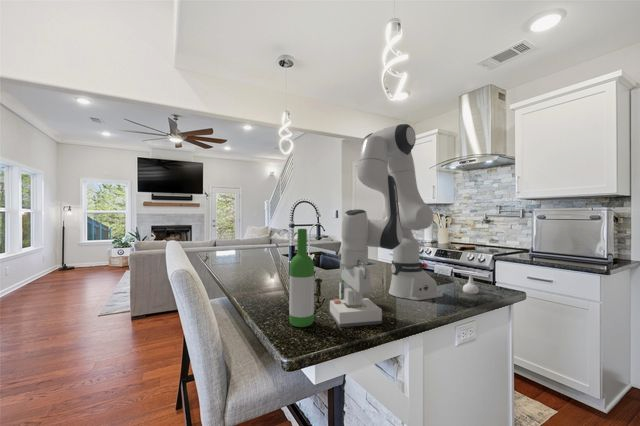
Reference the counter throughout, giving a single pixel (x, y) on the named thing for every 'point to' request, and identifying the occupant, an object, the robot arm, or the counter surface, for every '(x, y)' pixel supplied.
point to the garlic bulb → (470, 287)
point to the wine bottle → (301, 285)
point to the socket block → (355, 313)
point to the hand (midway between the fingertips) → (353, 299)
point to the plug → (351, 297)
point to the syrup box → (342, 289)
